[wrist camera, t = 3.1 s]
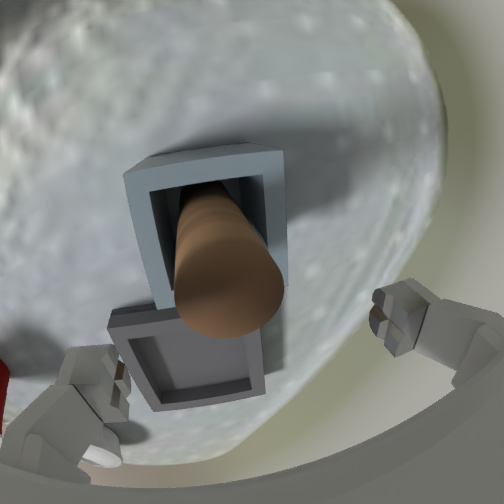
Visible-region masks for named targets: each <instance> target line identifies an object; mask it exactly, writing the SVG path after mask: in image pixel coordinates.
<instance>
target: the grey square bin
mask: <svg viewBox="0 0 504 504" xmlns="http://www.w3.org/2000/svg"><path fill="white" fill-rule="evenodd" d="M123 177H124V182H125V188H126V193H127V198H128V203H129V207H130V212H131V216H132V221H133V225H134V229H135V234H136V238H137V242H138V246H139V249H140V253H141V257H142V261H143V264H144V268H145V271H146V275H147V278H148V282H149V285H150V288H151V291H152V295H153V298H154V301H155V304H156V307H157V310H159V309H166V308H172V307H176V306H175V301H174V281H175V257H176V239H177V225H178V212H179V200H180V194H181V191H182V189H183V187H184V186H185V185H189V184H195V183H201V182H208V181H215V180H219V181H220V182H221V183H222V184H223V185H224V186H225V188H226V189H227V191H228V192H229V194H230V195H231V197H232V198H233V200H234V201H235V203H236V204H237V205H238V207H239V208H240V210H241V211H242V213H243V214H244V216H245V217H246V219H247V220H248V222H249V223H250V225H251V226H252V228H253V229H254V231H255V232H256V234H257V235H258V237H259V238H260V240H261V241H262V243H263V244H264V246H265V247H266V249H267V250H268V252H269V254H270V255H271V257H272V258H273V260H274V261H275V263H276V264H277V266H278V267H279V269H280V271H281V273H282V276H283V280H284V286H288V247H287V217H286V194H285V174H284V156H283V150H280V149H275V148H271V147H267V146H262V145H258V144H253V143H248V142H247V143H237V144H228V145H220V146H212V147H205V148H198V149H191V150H185V151H179V152H173V153H167V154H162V155H157V156H151V157H147V158H145V159H144V160H142V161H141V162H139V163H138V164H136V165H135V166H134V167H132V168H131V169H129V170H128V171H126V172H125V173H124V174H123Z"/></svg>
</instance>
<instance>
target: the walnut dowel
mask: <svg viewBox="0 0 504 504" xmlns="http://www.w3.org/2000/svg"><path fill="white" fill-rule="evenodd" d="M283 294H284V280H283V276H282V273H281V271H280V269H279V267H278V266H277V264H276V263H275V261H274V260H273V258H272V257H271V255H270V254H269V252H268V250H267V249H266V247H265V246H264V244H263V243H262V241H261V240H260V238H259V237H258V235H257V234H256V232H255V231H254V229H253V228H252V226H251V225H250V223H249V222H248V220H247V219H246V217H245V216H244V214H243V213H242V211H241V210H240V208H239V207H238V205H237V204H236V203H235V201H234V200H233V198H232V197H231V195H230V194H229V192H228V191H227V189H226V188H225V186H224V185H223V184H222V183H221V182H220V181H219V180H215V181H208V182H201V183H195V184H189V185H185V186H184V187H183V189H182V191H181V194H180V200H179V212H178V225H177V239H176V257H175V281H174V301H175V306H176V309H177V312H178V314H179V315H180V317H181V319H182V320H183V321H184V322H185V323H186V324H187V325H188V326H189V327H190V328H192V329H193V330H194V331H196V332H198V333H200V334H203V335H205V336H209V337H213V338H235V337H240V336H244V335H246V334H249V333H251V332H253V331H255V330H257V329H259V328H260V327H262V326H263V325H264V324H266V323H267V322H268V321H269V320H270V319H271V318H272V317H273V316H274V314H275V313H276V311H277V310H278V308H279V306H280V304H281V301H282V299H283Z"/></svg>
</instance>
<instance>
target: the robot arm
mask: <svg viewBox="0 0 504 504" xmlns="http://www.w3.org/2000/svg"><path fill="white" fill-rule="evenodd" d="M372 301H373V303H374V304H375V305H374V306H373V308H372V309H371V310H370V315H369V322H370V327H371V329H372V331H373V333H374V334H375V335H376V337H378V338H381V339H384V346H385V347H386V348H387V349H388V351H390V353H391V354H392V355H393V356H394V357H398V356H400V355H402V354H404V353H407V352H409V351H411V350H413V349H414V351H416V352H418V353H420V354H422V355H424V356H426V357H428V358H431V359H433V360H435V361H437V362H439V363H441V364H443V365H445V366H447V367H449V368H451V369H454V370H456V371H457V372H456V374H455V376H454V377H453V379H452V385H453V386H454V387H455V389H454V390H453V391H451V392H450V393H449V394H447V395H446V396H444V397H443V398H441V399H440V400H438V401H437V402H435V403H434V404H432V405H431V406H429V407H428V408H426V409H424V410H423V411H421V412H419V413H418V414H416V415H414V416H413V417H411V418H409V419H407V420H406V421H404V422H402V423H400V424H398V425H397V426H395V427H393V428H391V429H389V430H387V431H385V432H383V433H381V434H379V435H377V436H375V437H373V438H371V439H368V440H366V441H364V442H362V443H360V444H357V445H355V446H353V447H350V448H348V449H345V450H343V451H340V452H338V453H335V454H333V455H330V456H328V457H324V458H322V459H319V460H316V461H313V462H310V463H307V464H303V465H300V466H297V467H294V468H290V469H286V470H283V471H279V472H275V473H272V474H267V475H263V476H258V477H253V478H249V479H243V480H238V481H232V482H226V483H219V484H211V485H203V486H192V487H177V488H123V487H110V486H99V485H91V484H90V481H91V478H90V476H89V475H88V474H87V473H86V472H84V471H83V470H81V469H80V468H79V467H78V466H77V465H78V463H79V461H80V460H81V458H82V457H83V455H84V454H85V452H86V451H87V449H88V448H89V446H90V445H91V443H92V442H93V440H94V439H95V437H96V436H97V434H98V433H99V431H100V429H101V428H102V426H103V425H104V424H103V423H115V422H128V417H129V405H130V404H129V403H128V401H127V400H126V398H127V397H128V395H129V394H130V393H131V379H130V375H129V372H128V369H127V367H126V365H125V364H124V363H122V362H121V361H119V360H118V358H119V352H118V350H117V349H116V347H115V345H113V344H104V345H91V346H79V347H71V348H69V349H68V350H67V353H66V355H65V358H64V360H63V363H62V366H61V368H60V371H59V374H58V377H57V379H56V382H55V385H50V386H49V387H48V388H47V389H46V390H45V391H44V392H43V393H42V394H41V395H40V396H38V397H37V398H36V399H35V400H34V401H33V402H32V403H31V404H30V405H29V406H28V407H27V408H26V409H25V410H24V411H23V412H22V413H21V414H20V415H19V416H18V417H17V418H16V419H15V420H14V421H13V422H12V423H11V424H10V425H9V426H8V427H7V428H6V431H5V434H4V438H3V441H2V445H1V448H0V504H504V318H503V317H502V316H501V315H500V314H498V313H495V312H492V311H488V310H484V309H481V308H477V307H473V306H470V305H466V304H462V303H459V302H455V301H451V300H448V299H442V300H441V299H440V298H439V297H437V296H436V295H435V294H433V293H432V292H431V291H430V290H428V289H427V288H426V287H424V286H423V285H421V284H420V283H419V282H418V281H416V280H415V279H413V278H407V279H405V280H402V281H399V282H397V283H394V284H391V285H388V286H384V287H381V288H378V289H375V291H374V293H373V296H372Z"/></svg>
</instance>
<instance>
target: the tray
mask: <svg viewBox="0 0 504 504" xmlns="http://www.w3.org/2000/svg"><path fill="white" fill-rule="evenodd" d="M107 330H108V332H109V334H110V336H111V339H112V341H113V343H114V345H115V346H116V348H117V350H118V352H119V354H120V356H121V358H122V360H123V362H124V364H125V365H126V367H127V369H128V371H129V373H130V374H131V376H132V378H133V380H134V381H135V383H136V385H137V386H138V388H139V390H140V391H141V393H142V395H143V396H144V398H145V399H146V401H147V403H148V404H149V406H150V407H151V409H152V410H153V412H158V411H169V410H178V409H186V408H193V407H200V406H207V405H213V404H219V403H224V402H230V401H235V400H240V399H245V398H250V397H254V396H258V395H263V394H266V391H265V380H264V368H263V356H262V345H261V333H260V328H259V329H257V330H255V331H253V332H251V333H249V334H246V335H244V336H240V337H235V338H213V337H209V336H205V335H203V334H200V333H198V332H196V331H194V330H193V329H192V328H190V327H189V326H188V325H187V324H186V323H185V322H184V321H183V320H182V319H181V317H180V315H179V314H178V312H177V309H176V307H172V308H166V309H159V310H157V307H156V304H150V305H144V306H137V307H131V308H124V309H117V310H112V313H111V316H110V319H109V323H108V326H107Z"/></svg>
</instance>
